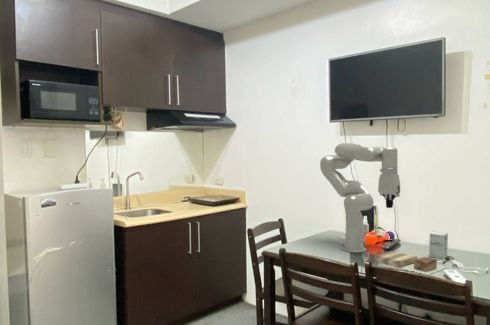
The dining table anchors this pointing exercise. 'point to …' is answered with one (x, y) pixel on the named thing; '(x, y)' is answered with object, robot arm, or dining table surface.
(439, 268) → the sage mat
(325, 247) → the dining table surface
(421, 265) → the brown wooden block
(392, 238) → the kendama
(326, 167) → the robot arm
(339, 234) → the dining table surface
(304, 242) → the dining table surface
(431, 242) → the supplement box
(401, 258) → the birch deck
